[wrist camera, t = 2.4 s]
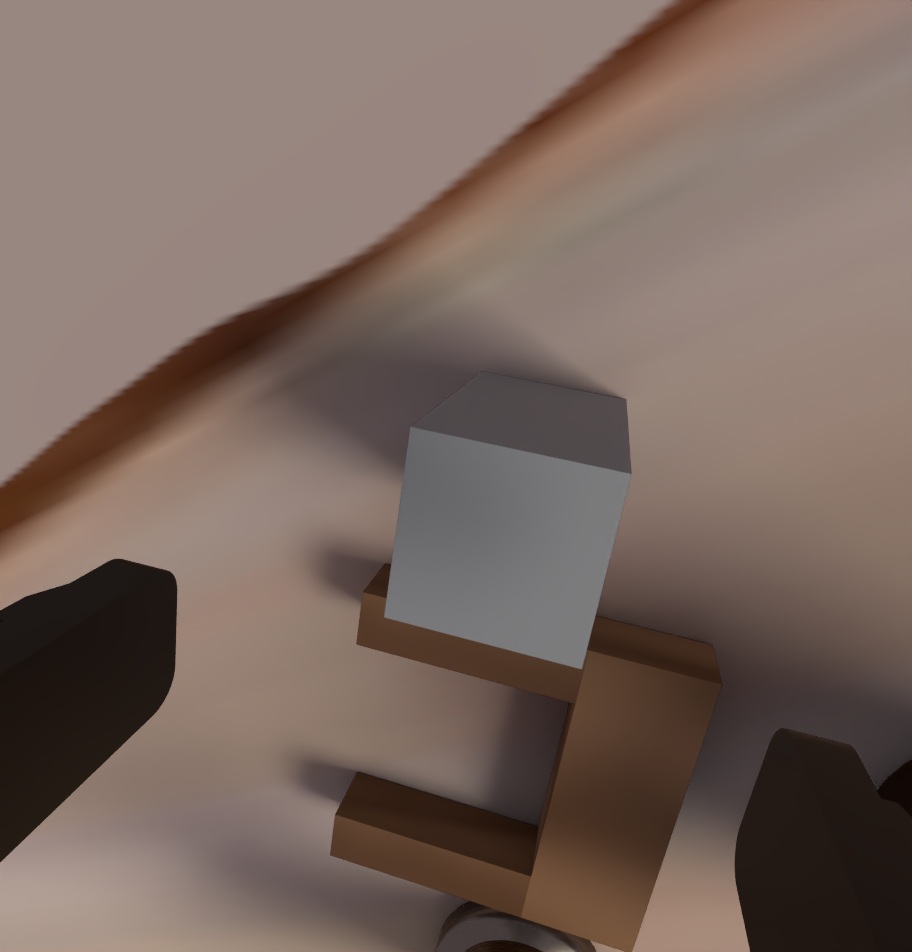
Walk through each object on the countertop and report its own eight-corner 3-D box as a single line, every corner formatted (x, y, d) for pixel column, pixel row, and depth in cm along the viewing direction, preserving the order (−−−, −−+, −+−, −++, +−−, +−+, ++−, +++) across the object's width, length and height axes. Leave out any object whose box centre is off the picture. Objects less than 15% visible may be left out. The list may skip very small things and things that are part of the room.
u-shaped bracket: (385, 563, 21) (362, 592, 19) (712, 644, 20) (722, 684, 18) (352, 810, 25) (330, 855, 23) (630, 897, 23) (631, 953, 21)
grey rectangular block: (481, 371, 19) (410, 427, 12) (626, 399, 18) (631, 474, 12) (459, 503, 20) (383, 617, 14) (593, 534, 20) (581, 669, 13)
